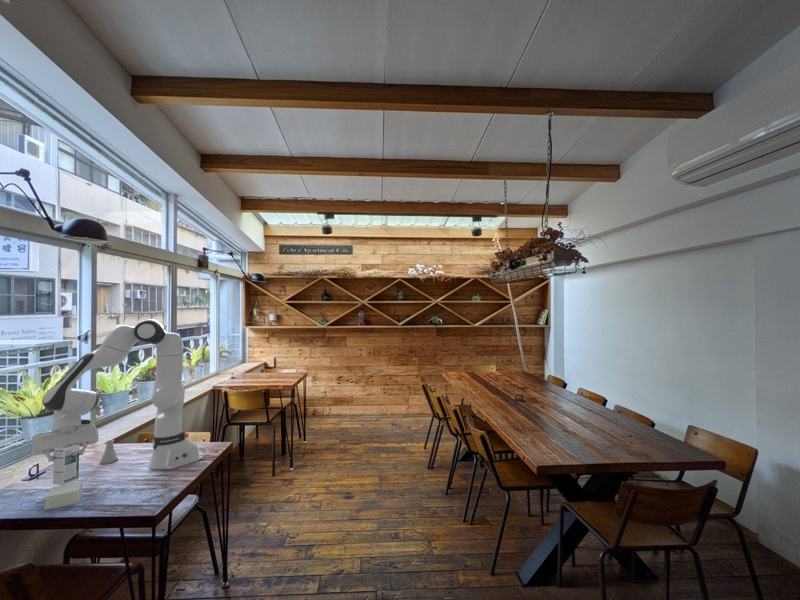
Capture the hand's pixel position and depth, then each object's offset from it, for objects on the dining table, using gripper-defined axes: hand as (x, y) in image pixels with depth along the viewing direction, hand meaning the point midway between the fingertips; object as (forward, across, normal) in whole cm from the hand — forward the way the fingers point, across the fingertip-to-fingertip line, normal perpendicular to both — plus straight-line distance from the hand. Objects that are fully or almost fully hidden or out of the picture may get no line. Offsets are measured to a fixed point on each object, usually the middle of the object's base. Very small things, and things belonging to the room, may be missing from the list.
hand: (66, 457), depth 142 cm
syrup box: (+7, 0, +8) cm, 10 cm away
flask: (-8, +16, +27) cm, 32 cm away
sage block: (+18, 0, +1) cm, 18 cm away
